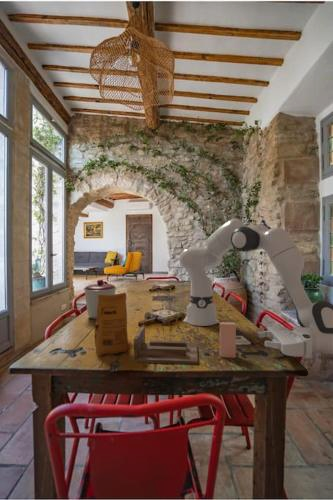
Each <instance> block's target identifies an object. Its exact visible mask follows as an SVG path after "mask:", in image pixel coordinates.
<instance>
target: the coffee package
mask: <svg viewBox="0 0 333 500" xmlns="http://www.w3.org/2000/svg"><path fill="white" fill-rule="evenodd" d="M127 311H128V310H127V294H126V292H121V293H115V295H105V294H99V295H98V308H97V319H96V322H95V327H94V345H95V353H96V354H97V355H98V356H102V355H107V354H110V355H118V354H120V353H121V354H122V353H125V352H127V351H128V346H129V345H128V342H129V341H128V340H129V339H128V325H127V324H128V312H127Z"/></svg>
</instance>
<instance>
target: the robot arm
mask: <svg viewBox="0 0 333 500" xmlns="http://www.w3.org/2000/svg"><path fill="white" fill-rule="evenodd" d="M232 248H233V249H235V250H236V251H239V252H244V253H245V252H246V253H247V252H254V251H258V250H264V251H265V253H266V254H267V256H268V258H269V260H270V262H271V263H272V264H273V267H274V268H275V270H276V272H277V273H278V274H277V275H279V277H280V280H281V281H282V284H283V286H284V288H285V290H286V292H287V294H288V296H289V298H290V300H291V303H292V304H293V307H294V310H295V315H296V320H297V323H298V325H299V326H300V327H298V326H297V327H296V326H294V327H293V328H292V330H290V329H289V328H287V327H283V326H282V327H281V326H268V327H267V330H264V331H258V332H257V337H258V338H259V339H260V338H261V339H264V338H269V339H270V340H264V341H263V345H264V347H265V348H271V349H272V348H273V349H276V350H279V351H280V352H281V353H282V354H283V355H285V356H289V357H299V358H300V357H304V358H305V359H312V358H313V357H312V356H313V354H317V353H319V354H322V355H333V304H332V303H331V302H329V301H327V300H319V301H317V302H312V301H311V299H310V298H309V296H308V293H307V292H306V290H305V287H304V286H303V283H302V273H303V270H304V266H305V260H304V257H303V254H302V252H301V251H300V249H299V247H298V246H297V244H296V242H295V241H294V240H293V239H292V237H291V236H290V235H289V234H288V232H286V231H285V229H283V228H281V227H279V226H277V227H271V226H269V225H267V224H261V223H260V224H250V225H246V224H245V223H244V222H243V220H240V219H238V218H232V219H230V220H227V222H225V223H223V224H222V225H220V227H218V228H217V229H216V230H215V231H214V232H213V233H212V234H210V235H209V236H208V238H207V239H206V246H203V247H189V248H186V249H183V250H182V251H181V252H180V254H179V263H180V265H181V267H182V268H183V269H184V270H185V271H186V272H187V274H188V277H189V280H190V295H189V302H190V303H189V304H188V305H187V306H186V316H185V318H184V319H183V323H186V324H189V325H192V326H199V327H205V326H206V327H209V326H213V325H216V324H220V320H219V319H218V318H217V307H216V306H215V304H214V295H213V280H212V279H211V277H209V276H208V275H207V273H206V269H213V268H216V267H219V266H220V265H221V264H222V263H223V259H224V258H223V256H224V255H225V254H226V253H227V252H229V251H230V250H231V249H232Z"/></svg>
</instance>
